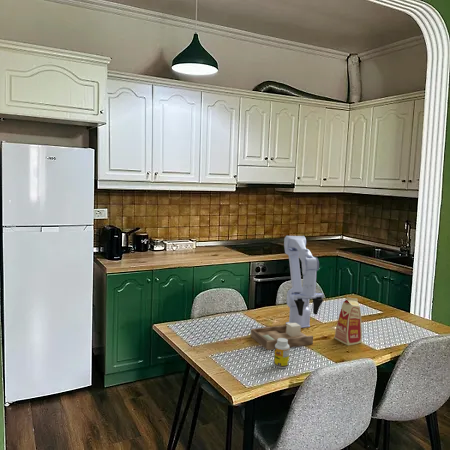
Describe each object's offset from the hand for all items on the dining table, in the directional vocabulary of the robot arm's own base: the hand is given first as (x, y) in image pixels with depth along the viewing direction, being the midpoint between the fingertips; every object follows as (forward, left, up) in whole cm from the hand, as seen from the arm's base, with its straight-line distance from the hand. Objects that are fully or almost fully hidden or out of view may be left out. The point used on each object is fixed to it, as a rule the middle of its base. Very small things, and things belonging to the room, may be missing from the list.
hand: (307, 314), depth 196 cm
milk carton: (-16, +9, -11) cm, 21 cm away
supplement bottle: (+26, +23, -11) cm, 36 cm away
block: (+7, 0, -9) cm, 11 cm away
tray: (+13, 0, -11) cm, 17 cm away
